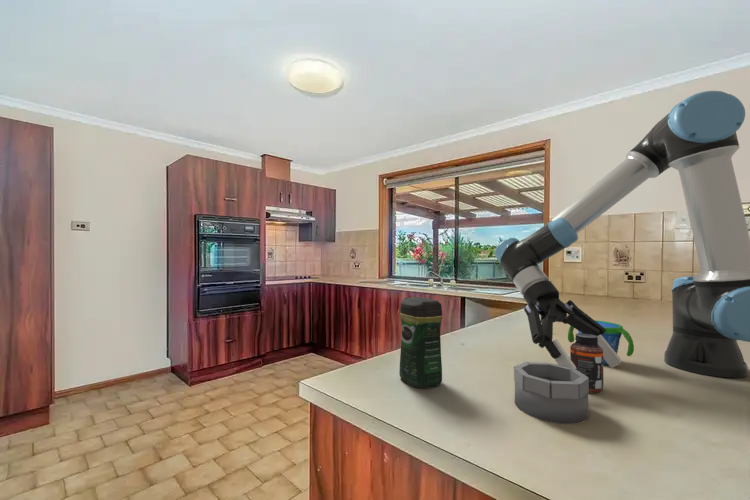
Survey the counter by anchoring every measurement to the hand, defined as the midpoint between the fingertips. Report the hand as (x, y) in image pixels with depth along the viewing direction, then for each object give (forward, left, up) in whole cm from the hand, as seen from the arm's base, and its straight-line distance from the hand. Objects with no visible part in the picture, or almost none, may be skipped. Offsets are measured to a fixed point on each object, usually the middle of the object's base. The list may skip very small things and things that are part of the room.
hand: (594, 368), depth 69 cm
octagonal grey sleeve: (+13, +8, -5) cm, 16 cm away
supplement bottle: (+1, -2, -5) cm, 6 cm away
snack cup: (-13, -22, -5) cm, 26 cm away
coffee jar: (+36, -3, -5) cm, 36 cm away
